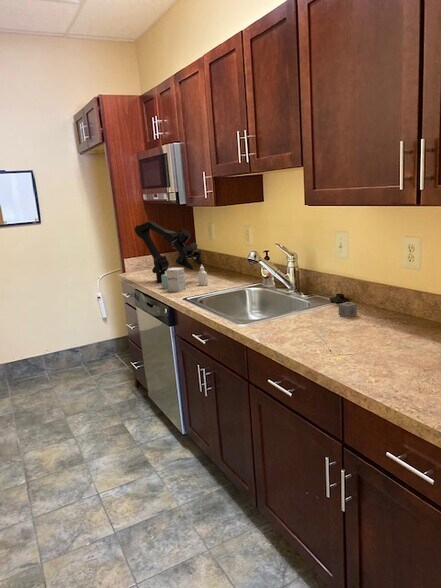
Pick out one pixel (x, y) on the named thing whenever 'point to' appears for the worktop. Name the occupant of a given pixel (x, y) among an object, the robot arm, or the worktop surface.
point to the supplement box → (176, 279)
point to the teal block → (164, 281)
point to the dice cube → (347, 309)
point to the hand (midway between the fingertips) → (197, 267)
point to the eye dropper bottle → (202, 277)
